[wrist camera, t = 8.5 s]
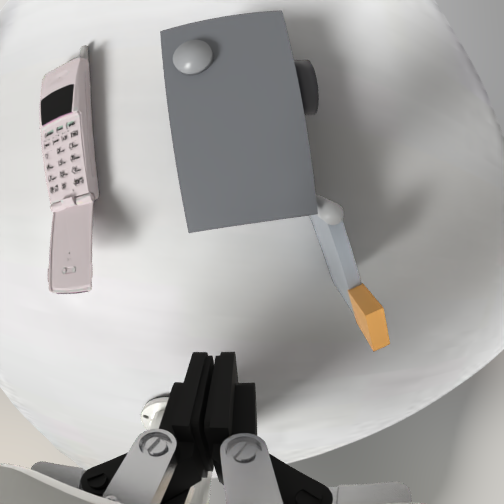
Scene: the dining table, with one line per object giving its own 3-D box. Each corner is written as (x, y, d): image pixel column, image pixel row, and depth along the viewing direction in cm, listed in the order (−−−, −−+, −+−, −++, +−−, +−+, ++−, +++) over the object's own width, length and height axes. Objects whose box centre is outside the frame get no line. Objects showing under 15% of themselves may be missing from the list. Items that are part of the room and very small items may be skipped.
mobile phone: (49, 296, 21) (23, 54, 14) (78, 274, 27) (54, 65, 20) (94, 293, 21) (67, 27, 14) (121, 269, 27) (96, 45, 19)
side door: (313, 189, 24) (358, 206, 13) (344, 278, 26) (391, 343, 16) (299, 195, 24) (334, 216, 13) (331, 283, 27) (372, 352, 16)
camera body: (316, 197, 24) (347, 212, 16) (208, 212, 25) (186, 235, 16) (292, 51, 20) (308, 5, 12) (186, 67, 21) (157, 27, 12)
